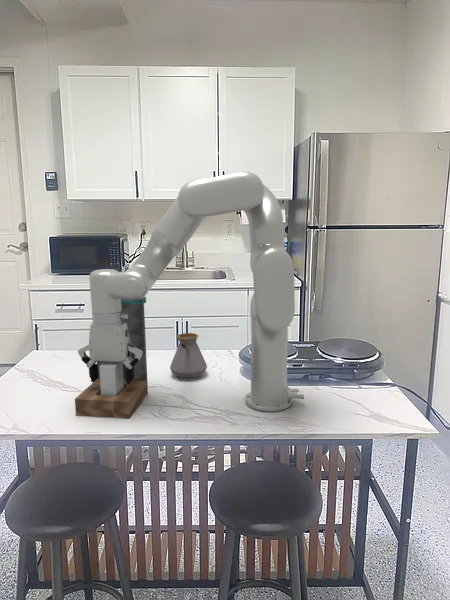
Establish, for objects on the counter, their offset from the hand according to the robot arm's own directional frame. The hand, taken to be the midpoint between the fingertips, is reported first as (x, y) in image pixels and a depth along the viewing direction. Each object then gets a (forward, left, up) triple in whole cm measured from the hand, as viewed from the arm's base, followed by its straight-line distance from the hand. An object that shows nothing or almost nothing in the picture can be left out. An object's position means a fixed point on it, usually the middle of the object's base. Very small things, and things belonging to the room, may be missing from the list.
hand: (112, 381), depth 119 cm
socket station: (0, -2, -7) cm, 7 cm away
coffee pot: (-16, -19, -7) cm, 26 cm away
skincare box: (0, 0, -7) cm, 7 cm away
